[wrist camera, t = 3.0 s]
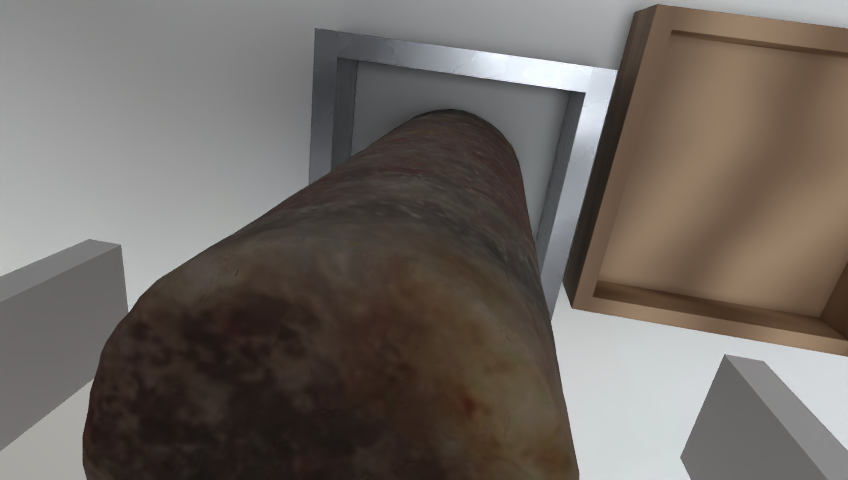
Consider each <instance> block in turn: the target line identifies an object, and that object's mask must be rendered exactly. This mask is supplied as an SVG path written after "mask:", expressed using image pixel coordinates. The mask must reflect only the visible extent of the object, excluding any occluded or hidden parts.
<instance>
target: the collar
mask: <svg viewBox="0 0 848 480" xmlns="http://www.w3.org/2000/svg"><path fill="white" fill-rule="evenodd" d="M358 60H361V61H368V62H375V63H382V64H389V65H396V66H403V67H410V68H417V69H424V70H431V71H438V72H445V73H452V74H459V75H466V76H473V77H480V78H487V79H494V80H501V81H508V82H515V83H522V84H529V85H536V86H543V87H550V88H557V89H564V90H571V93H570V98H569V102H568V106H567V110H566V115H565V119H564V123H563V127H562V132H561V136H560V140H559V144H558V149H557V153H556V157H555V161H554V166H553V170H552V174H551V178H550V183H549V187H548V191H547V195H546V200H545V204H544V208H543V212H542V217H541V221H540V225H539V229H538V234H537V238H536V242H535V249H536V252H537V258H538V264H539V271H540V277H541V283H542V287H543V291H544V295H545V299H546V302H547V306H548V310H549V315H550V320H551V319H552V315H553V312H554V308H555V304H556V300H557V297H558V293H559V289H560V285H561V282H562V278H563V274H564V270H565V267H566V263H567V259H568V255H569V252H570V248H571V244H572V240H573V237H574V233H575V229H576V225H577V221H578V218H579V214H580V210H581V206H582V203H583V199H584V195H585V191H586V188H587V184H588V180H589V176H590V173H591V169H592V165H593V161H594V158H595V154H596V150H597V146H598V143H599V139H600V135H601V131H602V128H603V124H604V120H605V116H606V113H607V109H608V105H609V101H610V98H611V94H612V90H613V86H614V83H615V79H616V75H617V71H618V70H612V69H605V68H598V67H590V66H583V65H576V64H569V63H562V62H554V61H547V60H540V59H533V58H526V57H518V56H511V55H504V54H497V53H490V52H482V51H475V50H468V49H461V48H453V47H446V46H439V45H432V44H425V43H417V42H410V41H403V40H396V39H389V38H381V37H374V36H367V35H360V34H352V33H345V32H338V31H331V30H324V29H316V28H315V45H314V69H313V93H312V118H311V142H310V167H309V185H310V184H312V183H313V182H315V181H317V180H318V179H320V178H321V177H323V176H325V175H326V174H328V173H329V172H330V171H331V170H333V169H334V168H335V167H336V166H338V165H340V164H341V163H343V162H345V161H347V160H348V159H349V158H351V146H352V132H353V119H354V105H355V91H356V78H357V64H358Z"/></svg>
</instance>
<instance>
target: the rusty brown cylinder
mask: <svg viewBox="0 0 848 480" xmlns="http://www.w3.org/2000/svg"><path fill="white" fill-rule="evenodd" d="M83 466H84V470H85V474H86V478H87V480H579V469H578V464H577V460H576V455H575V450H574V445H573V440H572V434H571V429H570V423H569V418H568V413H567V407H566V403H565V399H564V395H563V390H562V384H561V378H560V372H559V366H558V361H557V356H556V349H555V342H554V336H553V331H552V325H551V320H550V315H549V310H548V306H547V302H546V299H545V295H544V291H543V287H542V283H541V277H540V271H539V264H538V258H537V252H536V249H535V245H534V240H533V235H532V230H531V225H530V220H529V214H528V210H527V204H526V197H525V191H524V185H523V179H522V174H521V170H520V165H519V162H518V159H517V157H516V154H515V152H514V150H513V147H512V146H511V145H510V143H509V142H508V141H507V140H506V138H505V137H504V136H503V135H502V134H501V132H500V131H498V130H497V129H496V128H495V127H494V126H492V125H491V124H490V123H488V122H487V121H485V120H483V119H481V118H480V117H478V116H476V115H474V114H471V113H468V112H465V111H459V110H453V109H449V110H437V111H432V112H428V113H425V114H421V115H419V116H416V117H414V118H413V119H411V120H409V121H408V122H406V123H404V124H402V125H400V126H399V127H397V128H395V129H394V130H392V131H391V132H389V133H388V134H386V135H385V136H383V137H382V138H380V139H378V140H377V141H375V142H374V143H373V144H371V145H370V146H369V147H367V148H366V149H364V150H363V151H361V152H359V153H357V154H355V155H354V156H352V157H351V158H349V159H348V160H347V161H345V162H343V163H341V164H340V165H338V166H336V167H335V168H334V169H333V170H331V171H330V172H329V173H328V174H326V175H325V176H323V177H321V178H320V179H318V180H317V181H315V182H313V183H312V184H310V185H308V186H307V187H305V188H303V189H302V190H300V191H299V192H297V193H295V194H294V195H292V196H290V197H289V198H287V199H286V200H284V201H283V202H281V203H280V204H278V205H277V206H276V207H274V208H273V209H271V210H270V211H268V212H267V213H265V214H264V215H262V216H261V217H259V218H258V219H256V220H255V221H253V222H251V223H250V224H248V225H246V226H245V227H243V228H242V229H240V230H238V231H237V232H235V233H234V234H232V235H230V236H228V237H227V238H225V239H223V240H221V241H220V242H218V243H216V244H214V245H212V246H211V247H209V248H207V249H206V250H204V251H203V252H201V253H200V254H198V255H196V256H195V257H193V258H192V259H190V260H188V261H187V262H185V263H184V264H182V265H180V266H179V267H177V268H176V269H174V270H173V271H171V272H169V273H168V274H166V275H165V276H163V277H161V278H160V279H158V280H157V281H156V282H155V283H154V284H153V285H152V286H151V287H150V288H149V289H148V290H147V291H146V292H144V293H143V294H142V295H141V296H140V297H139V299H138V300H137V302H136V303H135V305H134V306H133V308H132V309H131V311H130V312H129V313H128V314H127V315H126V316H125V317H124V318H123V319H122V320H121V321H120V322H119V323H118V325H117V326H116V328H115V329H114V331H113V332H112V334H111V335H110V337H109V338H108V340H107V341H106V343H105V345H104V347H103V350H102V352H101V354H100V360H99V365H98V368H97V371H96V375H95V378H94V381H93V384H92V388H91V391H90V399H89V408H88V413H87V419H86V423H85V428H84V432H83Z"/></svg>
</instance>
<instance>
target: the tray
mask: <svg viewBox="0 0 848 480" xmlns="http://www.w3.org/2000/svg"><path fill="white" fill-rule="evenodd" d="M563 285H564V288H565V290H566V293H567V296H568V299H569V302H570V305H571V308H572V309H578V310H584V311H589V312H595V313H601V314H606V315H612V316H618V317H624V318H629V319H635V320H641V321H647V322H652V323H658V324H664V325H670V326H675V327H681V328H687V329H692V330H698V331H704V332H710V333H715V334H721V335H727V336H733V337H738V338H744V339H750V340H755V341H761V342H767V343H773V344H778V345H784V346H790V347H796V348H801V349H807V350H813V351H819V352H824V353H830V354H836V355H841V356H847V357H848V29H846V28H838V27H830V26H823V25H815V24H807V23H799V22H791V21H784V20H776V19H768V18H760V17H753V16H745V15H737V14H729V13H721V12H714V11H706V10H698V9H690V8H682V7H675V6H667V5H659V4H657V5H654V6H651V7H648V8H646V9H643V10H640V11H637V12H635V13H634V17H633V21H632V25H631V28H630V32H629V36H628V40H627V43H626V47H625V51H624V54H623V58H622V62H621V66H620V69H619V73H618V77H617V81H616V84H615V88H614V92H613V96H612V99H611V103H610V107H609V111H608V114H607V118H606V122H605V126H604V129H603V133H602V137H601V140H600V144H599V148H598V152H597V155H596V159H595V163H594V167H593V170H592V174H591V178H590V182H589V185H588V189H587V193H586V197H585V200H584V204H583V208H582V212H581V215H580V219H579V223H578V227H577V230H576V234H575V238H574V241H573V245H572V249H571V253H570V256H569V260H568V264H567V268H566V271H565V275H564V279H563Z"/></svg>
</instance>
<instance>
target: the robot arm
mask: <svg viewBox="0 0 848 480" xmlns="http://www.w3.org/2000/svg"><path fill="white" fill-rule="evenodd" d="M127 314H128V305H127V296H126V286H125V277H124V268H123V259H122V250H121V245H119V244H114V243H108V242H103V241H97V240H92V239H88V240H86V241H84V242H81V243H79V244H77V245H74V246H72V247H69V248H67V249H65V250H62V251H60V252H58V253H55V254H53V255H51V256H48V257H46V258H43V259H41V260H39V261H36V262H34V263H32V264H29V265H27V266H25V267H22V268H20V269H17V270H15V271H13V272H10V273H8V274H6V275H3V276H1V277H0V451H1V450H2V449H4V448H5V447H6V446H8V445H9V444H10V443H11V442H13V441H14V440H15V439H17V438H18V437H19V436H20V435H21V434H23V433H24V432H26V431H27V430H28V429H29V428H31V427H32V426H33V425H35V424H36V423H37V422H38V421H40V420H41V419H42V418H43V417H45V416H46V415H47V414H49V413H50V412H51V411H52V410H54V409H55V408H56V407H58V406H59V405H60V404H61V403H63V402H64V401H65V400H67V399H68V398H69V397H70V396H72V395H73V394H74V393H75V392H77V391H78V390H79V389H81V388H82V387H83V386H84V385H86V384H87V383H88V382H90V381H91V380H92V379H94V378H95V375H96V371H97V368H98V365H99V360H100V354H101V352H102V350H103V347H104V345H105V343H106V341H107V340H108V338H109V337H110V335H111V334H112V332H113V331H114V329H115V328H116V326H117V325H118V323H119V322H120V321H121V320H122V319H123V318H124V317H125V316H126V315H127ZM680 458H681V460H682V462H683V464H684V466H685V468H686V470H687V472H688V474H689V476H690V478H691V480H848V450H847V449H846V448H845V447H844V446H843V445H842V444H841V443H840V442H839V441H838V440H837V439H836V438H835V437H834V436H833V435H832V433H831V432H830V431H829V430H828V429H827V428H826V427H825V426H824V425H823V424H822V423H821V422H820V421H819V420H818V419H817V417H816V416H815V415H814V414H813V413H812V412H811V411H810V410H809V409H808V408H807V407H806V406H805V405H804V404H803V403H802V402H801V400H800V399H799V398H798V397H797V396H796V395H795V394H794V393H793V392H792V391H791V390H790V389H789V388H788V387H787V386H786V385H785V383H784V382H783V381H782V380H781V379H780V378H779V377H778V376H777V375H776V374H775V373H774V372H773V371H772V370H771V369H770V367H769V366H768V365H767V364H766V363H765V362H764V361H759V360H753V359H748V358H742V357H737V356H731V355H726V354H724V357H723V359H722V361H721V364H720V366H719V368H718V371H717V373H716V375H715V378H714V380H713V382H712V385H711V387H710V389H709V392H708V394H707V396H706V399H705V401H704V403H703V406H702V408H701V410H700V413H699V415H698V417H697V420H696V422H695V424H694V427H693V429H692V431H691V434H690V436H689V438H688V441H687V443H686V445H685V448H684V450H683V452H682V455H681V457H680Z"/></svg>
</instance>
